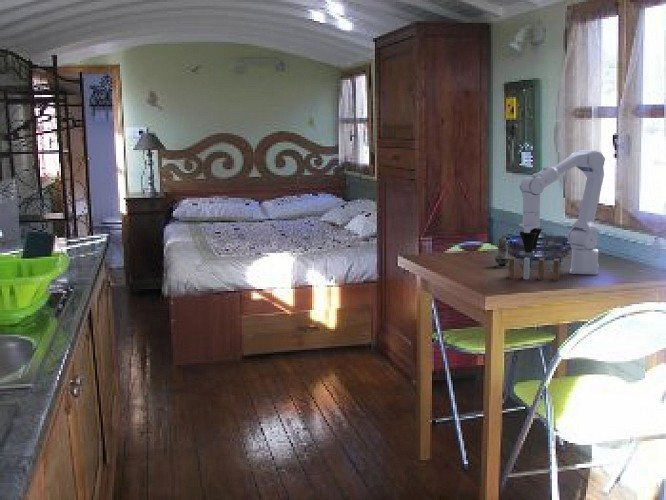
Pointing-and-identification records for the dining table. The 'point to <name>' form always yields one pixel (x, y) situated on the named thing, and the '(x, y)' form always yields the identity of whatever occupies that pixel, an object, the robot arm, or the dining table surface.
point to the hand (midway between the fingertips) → (530, 250)
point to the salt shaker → (502, 254)
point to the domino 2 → (526, 268)
